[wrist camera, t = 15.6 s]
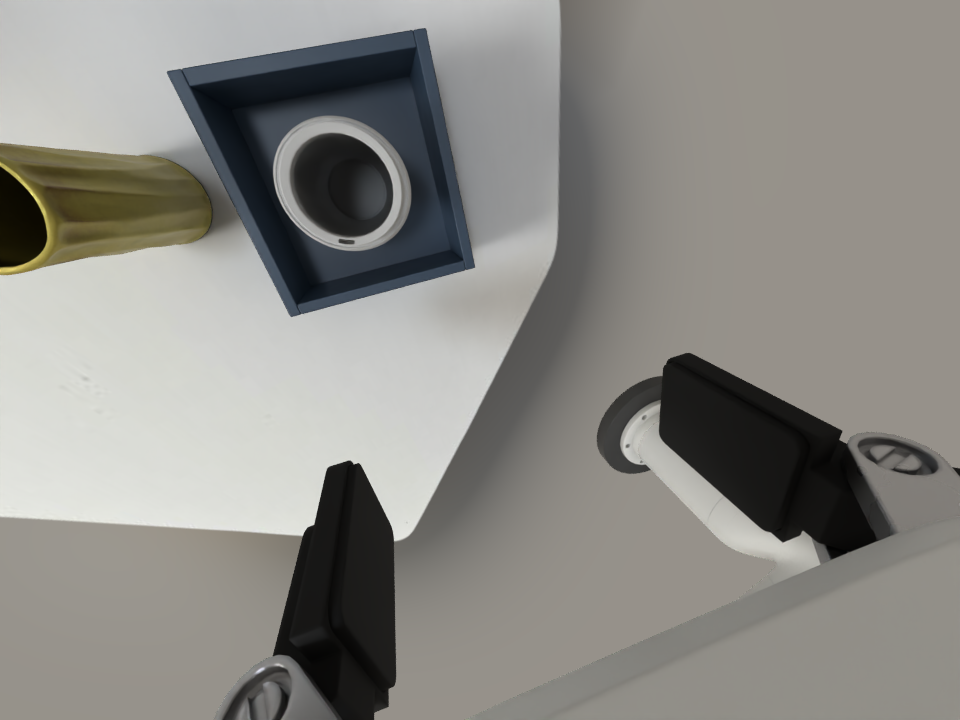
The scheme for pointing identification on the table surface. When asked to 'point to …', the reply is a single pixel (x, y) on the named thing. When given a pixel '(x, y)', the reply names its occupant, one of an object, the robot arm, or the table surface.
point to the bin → (347, 93)
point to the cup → (342, 183)
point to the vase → (92, 205)
